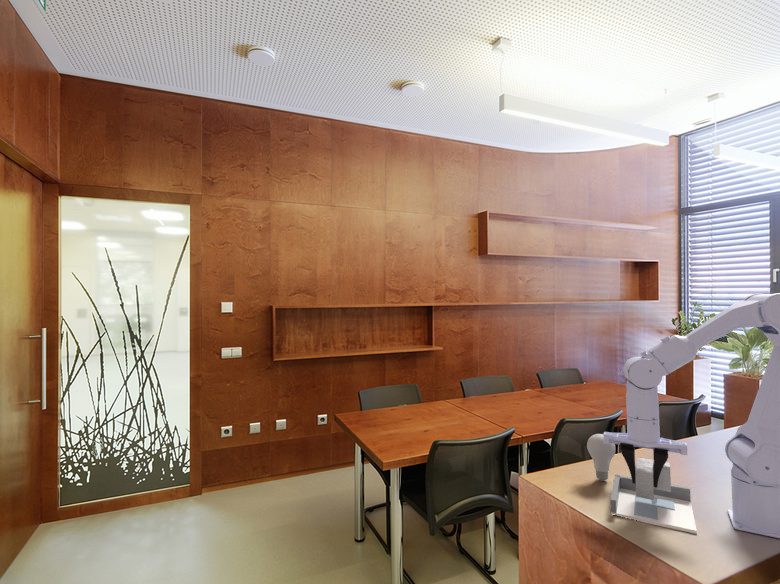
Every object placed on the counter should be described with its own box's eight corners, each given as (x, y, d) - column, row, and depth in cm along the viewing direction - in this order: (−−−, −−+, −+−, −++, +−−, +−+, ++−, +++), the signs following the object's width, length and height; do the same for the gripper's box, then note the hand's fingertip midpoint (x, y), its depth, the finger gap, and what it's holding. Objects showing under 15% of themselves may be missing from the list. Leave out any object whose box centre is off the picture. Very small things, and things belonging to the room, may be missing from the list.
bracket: (672, 504, 80) (671, 477, 80) (636, 496, 83) (635, 471, 83) (670, 486, 88) (669, 462, 88) (637, 480, 91) (636, 457, 91)
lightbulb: (582, 477, 102) (580, 432, 102) (601, 473, 104) (599, 429, 104) (603, 488, 96) (601, 439, 97) (622, 483, 98) (621, 436, 99)
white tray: (690, 502, 89) (689, 487, 89) (696, 534, 77) (696, 517, 77) (615, 488, 96) (615, 474, 96) (610, 515, 84) (610, 499, 84)
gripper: (684, 416, 85) (686, 483, 85) (604, 408, 93) (606, 469, 93) (687, 425, 79) (689, 497, 79) (601, 415, 87) (603, 481, 87)
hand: (644, 483), depth 85 cm, fingers closed on bracket, 3 cm apart
